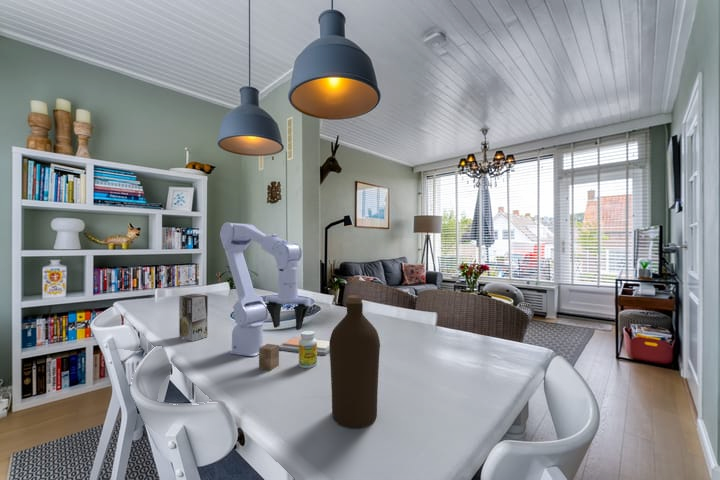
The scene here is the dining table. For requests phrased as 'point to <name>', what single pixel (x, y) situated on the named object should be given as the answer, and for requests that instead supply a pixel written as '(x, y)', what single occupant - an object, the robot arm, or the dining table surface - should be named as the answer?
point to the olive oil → (354, 368)
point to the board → (294, 346)
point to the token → (268, 357)
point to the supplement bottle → (307, 350)
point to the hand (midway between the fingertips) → (287, 327)
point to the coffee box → (193, 316)
